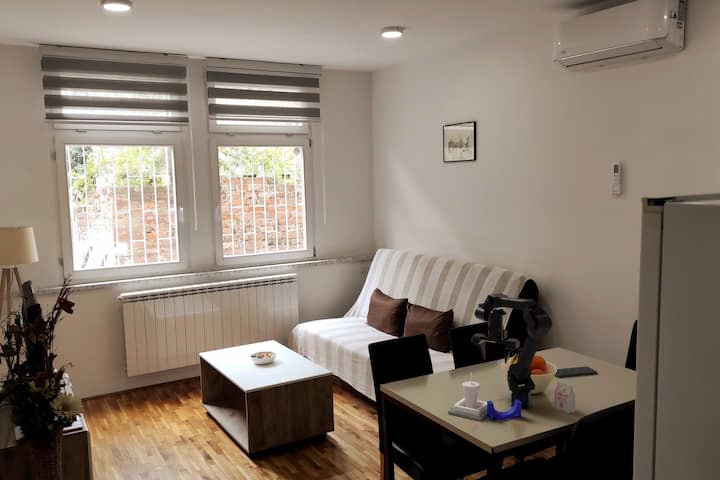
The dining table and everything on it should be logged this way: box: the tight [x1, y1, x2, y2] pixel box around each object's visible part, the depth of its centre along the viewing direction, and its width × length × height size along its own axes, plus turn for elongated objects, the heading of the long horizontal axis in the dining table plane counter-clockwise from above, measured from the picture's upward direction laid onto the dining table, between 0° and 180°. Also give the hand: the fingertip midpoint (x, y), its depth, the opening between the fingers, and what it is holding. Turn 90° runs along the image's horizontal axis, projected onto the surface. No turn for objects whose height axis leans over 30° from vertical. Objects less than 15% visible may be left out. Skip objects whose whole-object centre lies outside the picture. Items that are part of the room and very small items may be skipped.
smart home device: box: [554, 366, 598, 379], centre depth 267 cm, size 8×2×20 cm
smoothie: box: [462, 371, 481, 409], centre depth 224 cm, size 6×6×14 cm
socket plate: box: [447, 396, 487, 422], centre depth 224 cm, size 13×13×3 cm
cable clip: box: [486, 400, 523, 422], centre depth 218 cm, size 12×4×6 cm, turn 95°
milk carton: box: [553, 381, 576, 415], centre depth 225 cm, size 4×7×10 cm, turn 26°
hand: (494, 361), depth 243 cm, fingers open, 9 cm apart
